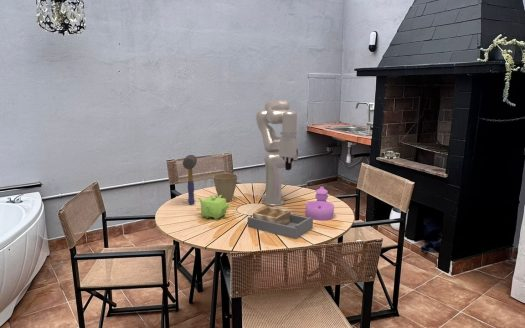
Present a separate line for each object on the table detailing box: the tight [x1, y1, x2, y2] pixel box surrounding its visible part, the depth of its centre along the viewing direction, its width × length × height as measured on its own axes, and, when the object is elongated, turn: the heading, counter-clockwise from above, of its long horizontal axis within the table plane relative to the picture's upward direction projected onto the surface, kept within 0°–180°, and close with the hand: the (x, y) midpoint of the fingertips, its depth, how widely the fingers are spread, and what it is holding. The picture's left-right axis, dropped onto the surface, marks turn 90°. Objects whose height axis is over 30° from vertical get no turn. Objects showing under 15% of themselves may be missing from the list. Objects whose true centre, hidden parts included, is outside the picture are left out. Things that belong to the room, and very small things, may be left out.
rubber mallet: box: [182, 154, 198, 206], centre depth 226 cm, size 12×8×30 cm, turn 3°
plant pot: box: [212, 172, 238, 203], centre depth 235 cm, size 15×15×16 cm
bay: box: [247, 213, 314, 240], centre depth 190 cm, size 28×17×6 cm, turn 56°
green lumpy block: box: [197, 195, 231, 220], centre depth 206 cm, size 15×14×11 cm
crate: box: [252, 206, 292, 225], centre depth 193 cm, size 14×14×6 cm
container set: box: [305, 186, 335, 222], centre depth 212 cm, size 25×15×13 cm, turn 167°
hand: (288, 169), depth 200 cm, fingers closed
